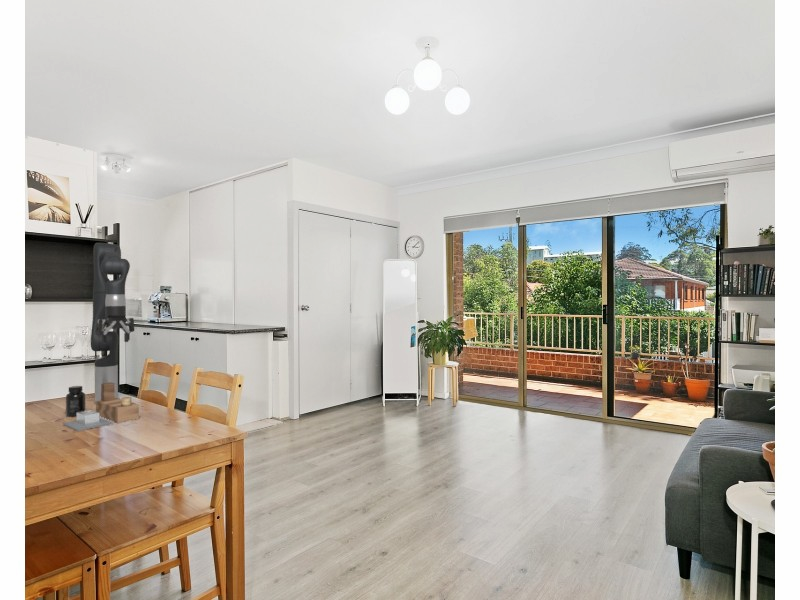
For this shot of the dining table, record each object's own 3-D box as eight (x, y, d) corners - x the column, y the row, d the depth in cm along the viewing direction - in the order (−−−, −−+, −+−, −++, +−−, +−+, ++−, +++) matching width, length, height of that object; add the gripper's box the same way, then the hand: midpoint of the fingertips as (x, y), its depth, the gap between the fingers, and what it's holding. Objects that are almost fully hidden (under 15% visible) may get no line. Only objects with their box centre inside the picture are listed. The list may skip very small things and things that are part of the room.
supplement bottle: (89, 413, 204) (89, 385, 203) (77, 417, 197) (76, 388, 197) (74, 412, 204) (74, 384, 204) (61, 417, 198) (61, 388, 197)
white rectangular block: (76, 422, 187) (76, 412, 187) (90, 419, 191) (90, 409, 191) (85, 425, 182) (85, 415, 182) (99, 423, 186) (99, 412, 186)
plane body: (96, 415, 201) (96, 384, 200) (116, 411, 207) (116, 381, 207) (117, 423, 189) (117, 390, 189) (138, 419, 195) (138, 387, 195)
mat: (63, 425, 186) (63, 423, 186) (97, 418, 195) (97, 416, 195) (77, 431, 177) (77, 429, 177) (112, 424, 187) (112, 422, 187)
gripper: (129, 304, 212) (129, 340, 212) (93, 305, 201) (93, 343, 201) (137, 304, 208) (137, 342, 208) (101, 305, 196) (101, 344, 197)
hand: (115, 342), depth 204 cm, fingers open, 8 cm apart
